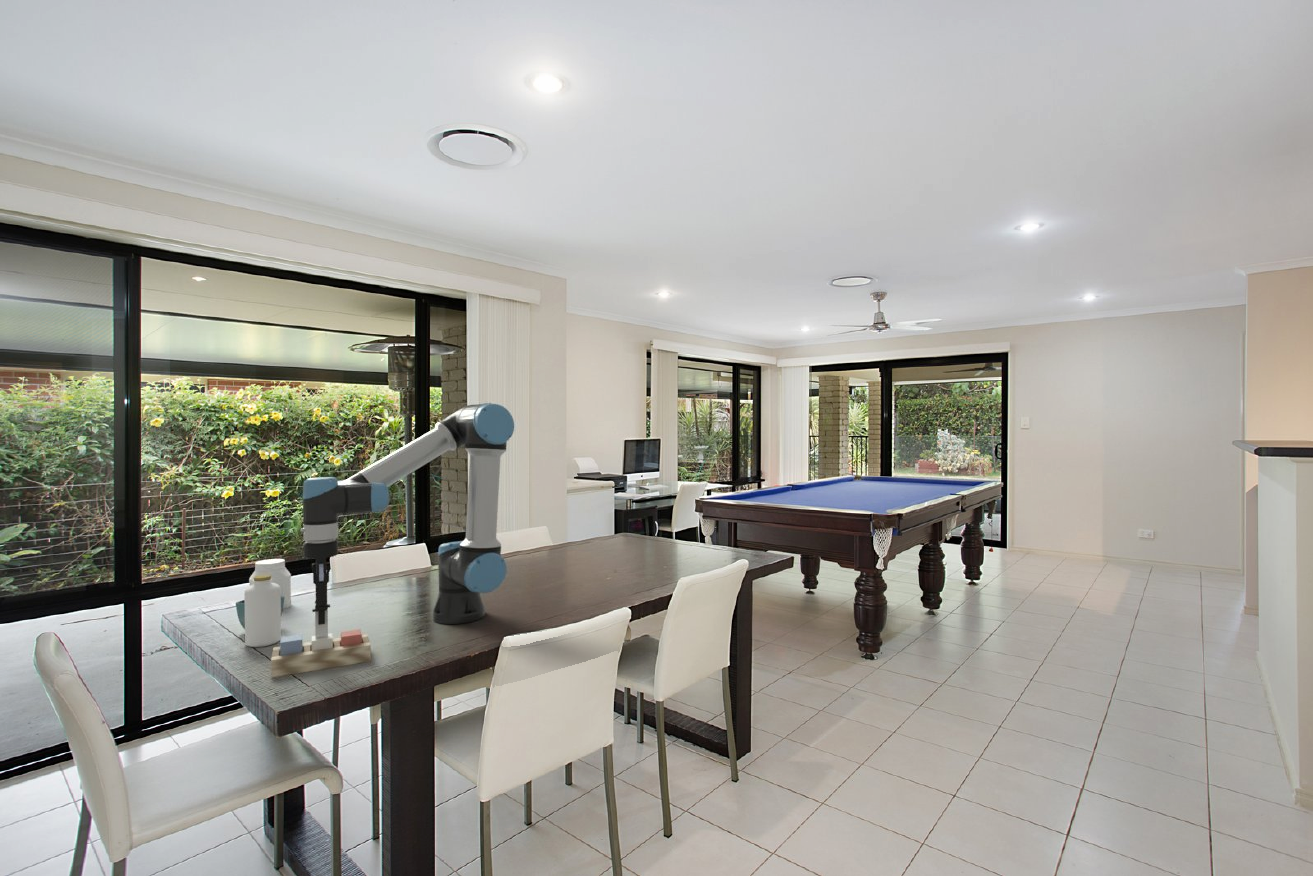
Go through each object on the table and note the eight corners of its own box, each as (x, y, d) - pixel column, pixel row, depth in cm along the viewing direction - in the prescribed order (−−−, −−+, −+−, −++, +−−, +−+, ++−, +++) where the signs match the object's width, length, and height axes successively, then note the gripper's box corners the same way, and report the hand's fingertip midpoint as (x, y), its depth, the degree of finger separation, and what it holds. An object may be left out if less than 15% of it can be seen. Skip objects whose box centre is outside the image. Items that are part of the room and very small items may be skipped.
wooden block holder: (367, 649, 165) (367, 633, 165) (370, 661, 156) (370, 645, 156) (273, 663, 155) (273, 647, 155) (271, 677, 146) (271, 660, 146)
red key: (360, 648, 162) (360, 629, 162) (361, 654, 158) (361, 634, 158) (341, 651, 160) (340, 632, 159) (341, 657, 156) (341, 637, 155)
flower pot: (261, 636, 176) (261, 604, 176) (234, 634, 178) (234, 602, 178) (285, 626, 185) (285, 595, 185) (260, 624, 187) (259, 594, 186)
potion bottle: (255, 638, 174) (254, 573, 174) (287, 637, 175) (286, 572, 174) (238, 649, 166) (237, 580, 165) (271, 647, 166) (270, 579, 166)
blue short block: (302, 654, 155) (302, 634, 155) (302, 660, 151) (302, 639, 151) (281, 657, 153) (281, 637, 153) (280, 663, 149) (280, 642, 149)
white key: (332, 653, 159) (332, 633, 159) (332, 658, 155) (332, 638, 155) (311, 656, 156) (311, 636, 156) (311, 661, 152) (311, 641, 152)
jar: (284, 601, 212) (284, 556, 212) (295, 606, 206) (295, 560, 206) (245, 608, 204) (244, 562, 203) (255, 614, 197) (254, 566, 197)
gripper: (303, 537, 159) (304, 631, 159) (302, 546, 148) (303, 646, 148) (337, 535, 163) (337, 626, 163) (338, 543, 151) (339, 641, 151)
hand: (321, 636), depth 155 cm, fingers closed
